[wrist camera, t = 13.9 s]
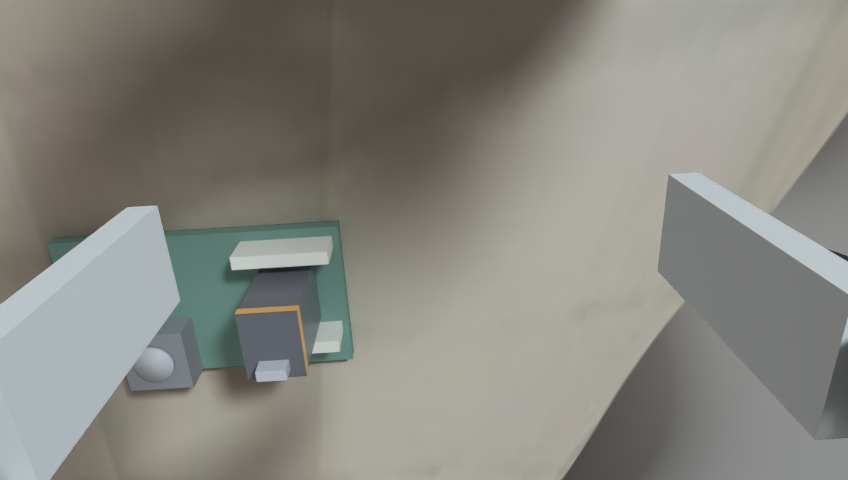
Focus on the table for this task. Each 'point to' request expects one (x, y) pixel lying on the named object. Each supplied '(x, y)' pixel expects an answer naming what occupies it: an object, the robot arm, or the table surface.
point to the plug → (279, 323)
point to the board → (234, 296)
